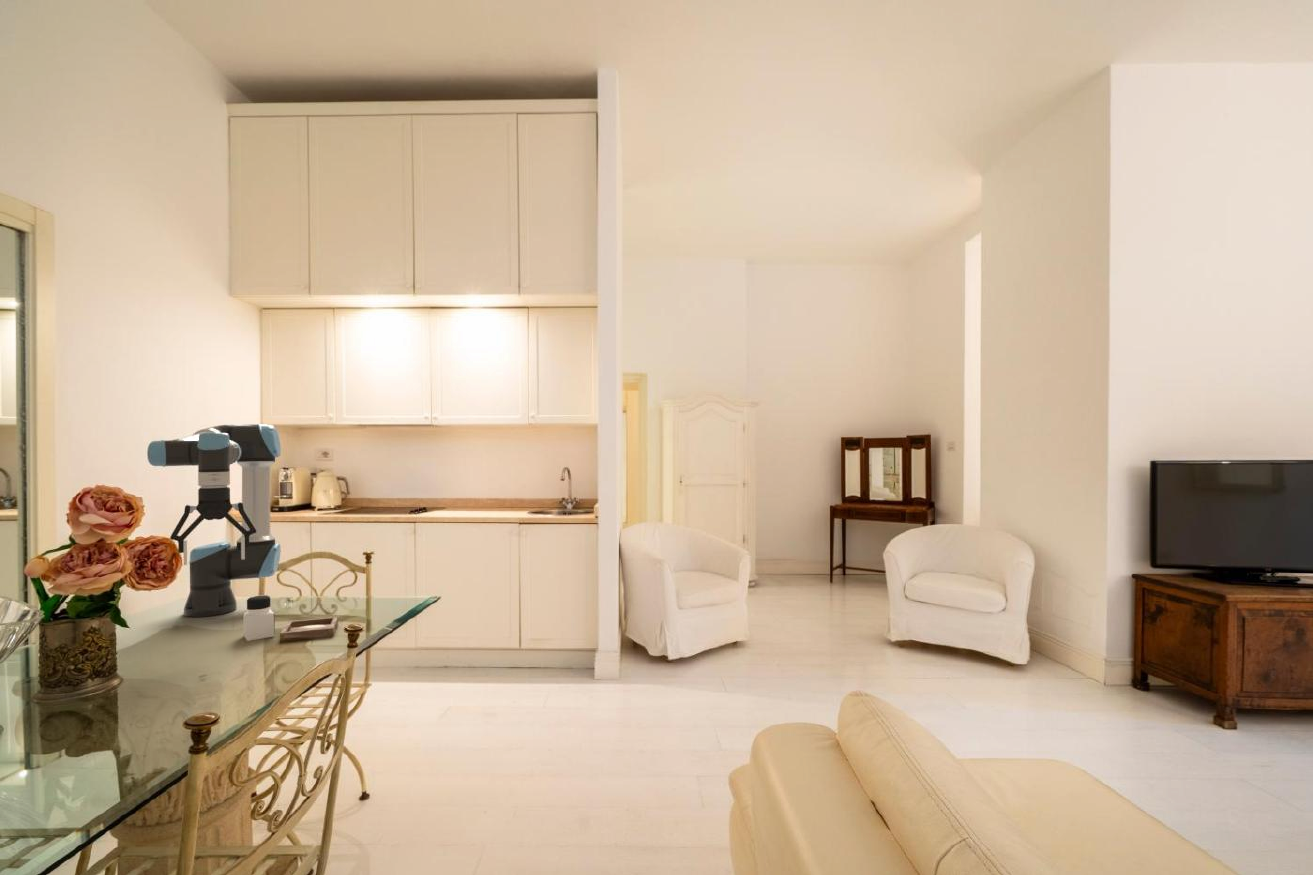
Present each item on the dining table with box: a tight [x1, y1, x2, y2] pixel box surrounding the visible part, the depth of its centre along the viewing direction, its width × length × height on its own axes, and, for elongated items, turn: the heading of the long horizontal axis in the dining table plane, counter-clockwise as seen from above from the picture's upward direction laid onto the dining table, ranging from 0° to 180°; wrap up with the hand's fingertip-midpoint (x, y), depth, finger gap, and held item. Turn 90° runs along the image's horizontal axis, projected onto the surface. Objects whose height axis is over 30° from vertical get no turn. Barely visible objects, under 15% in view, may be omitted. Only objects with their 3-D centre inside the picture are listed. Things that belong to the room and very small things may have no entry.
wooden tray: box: [279, 616, 339, 643], centre depth 200 cm, size 14×14×2 cm
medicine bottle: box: [242, 594, 276, 642], centre depth 197 cm, size 7×7×12 cm
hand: (214, 561), depth 187 cm, fingers open, 13 cm apart
